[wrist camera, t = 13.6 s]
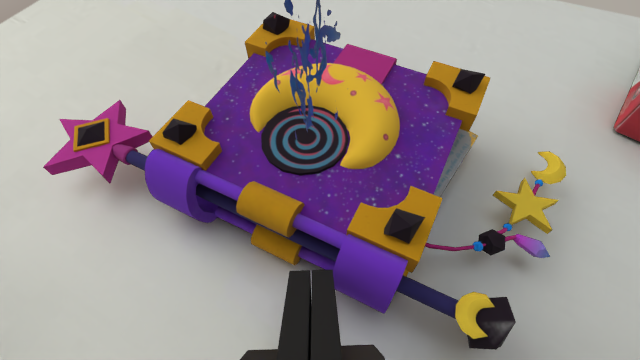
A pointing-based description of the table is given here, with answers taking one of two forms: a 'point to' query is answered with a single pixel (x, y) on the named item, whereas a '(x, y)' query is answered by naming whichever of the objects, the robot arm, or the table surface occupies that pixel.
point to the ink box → (630, 112)
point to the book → (325, 164)
